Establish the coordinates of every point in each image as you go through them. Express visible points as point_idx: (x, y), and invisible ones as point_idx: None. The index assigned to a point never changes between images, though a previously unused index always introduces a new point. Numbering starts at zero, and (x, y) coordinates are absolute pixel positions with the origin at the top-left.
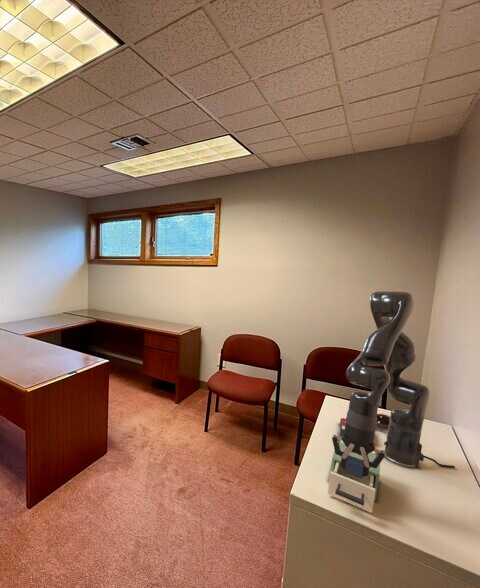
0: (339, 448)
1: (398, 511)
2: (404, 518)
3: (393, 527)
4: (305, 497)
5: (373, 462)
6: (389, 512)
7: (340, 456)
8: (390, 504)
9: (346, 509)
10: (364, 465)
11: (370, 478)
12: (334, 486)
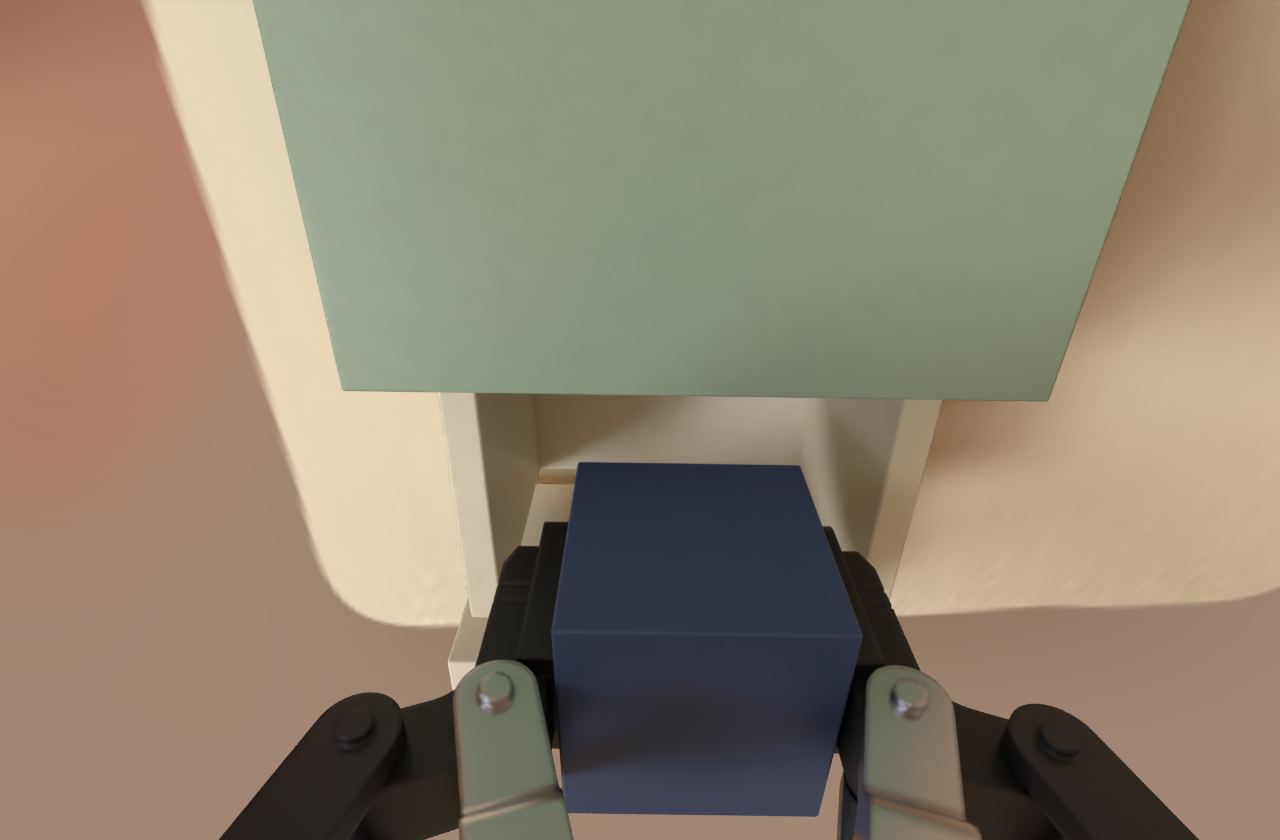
0: (354, 819)
1: None
2: (1076, 345)
3: (945, 522)
4: (398, 612)
5: (1027, 825)
6: None
7: (434, 221)
8: None
9: None
10: (838, 746)
11: (887, 478)
12: None
